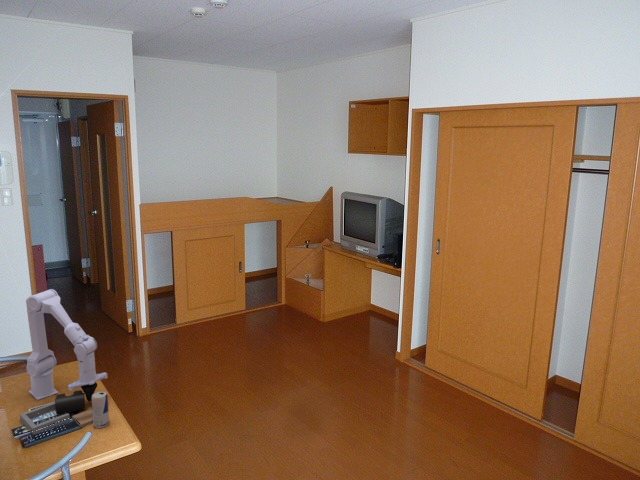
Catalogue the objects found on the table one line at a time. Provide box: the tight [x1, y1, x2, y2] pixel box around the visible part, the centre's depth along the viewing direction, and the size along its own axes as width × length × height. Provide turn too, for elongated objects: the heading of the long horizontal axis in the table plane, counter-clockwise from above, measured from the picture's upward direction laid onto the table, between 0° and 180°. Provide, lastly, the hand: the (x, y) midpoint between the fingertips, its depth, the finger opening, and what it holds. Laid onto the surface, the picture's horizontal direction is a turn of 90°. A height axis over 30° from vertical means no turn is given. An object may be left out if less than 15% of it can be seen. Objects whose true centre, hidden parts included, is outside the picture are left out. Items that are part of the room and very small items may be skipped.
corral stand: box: [19, 401, 71, 435], centre depth 183 cm, size 13×12×2 cm
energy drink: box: [91, 390, 110, 429], centre depth 181 cm, size 5×5×12 cm
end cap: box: [54, 389, 86, 416], centre depth 190 cm, size 10×7×7 cm
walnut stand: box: [71, 408, 93, 428], centre depth 185 cm, size 8×8×1 cm
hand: (89, 400), depth 196 cm, fingers closed
